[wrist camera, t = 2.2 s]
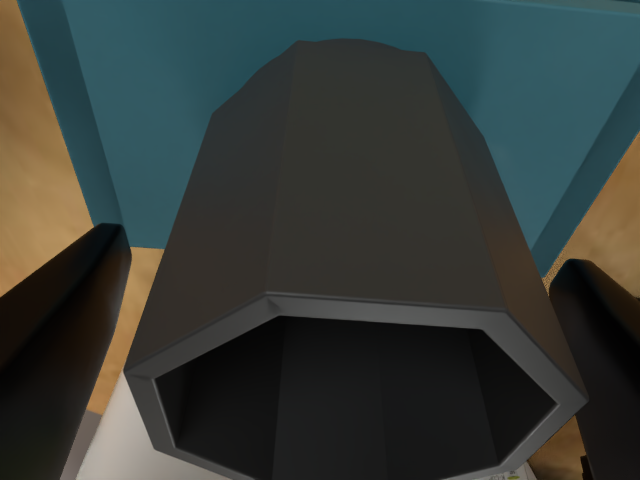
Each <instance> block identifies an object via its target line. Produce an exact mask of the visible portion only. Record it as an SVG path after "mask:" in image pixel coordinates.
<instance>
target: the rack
mask: <svg viewBox="0 0 640 480" xmlns="http://www.w3.org/2000/svg"><path fill="white" fill-rule="evenodd" d="M17 3H18V6H19V9H20V11H21V14H22V17H23V20H24V23H25V26H26V29H27V32H28V35H29V38H30V41H31V44H32V47H33V50H34V53H35V55H36V58H37V61H38V64H39V67H40V70H41V73H42V76H43V79H44V82H45V85H46V88H47V91H48V94H49V97H50V99H51V102H52V105H53V108H54V111H55V114H56V117H57V120H58V123H59V126H60V129H61V132H62V135H63V138H64V140H65V143H66V146H67V149H68V152H69V155H70V158H71V161H72V164H73V167H74V170H75V173H76V176H77V179H78V182H79V184H80V187H81V190H82V193H83V196H84V199H85V202H86V205H87V208H88V211H89V214H90V217H91V220H92V223H93V226H94V227H95V226H96V225H98V224H100V223H117V224H121V225H123V227H124V229H125V231H126V235H127V238H128V242H129V246H130V247H143V248H156V249H165V247H166V245H167V242H168V239H169V236H170V233H171V230H172V227H173V224H174V222H175V219H176V216H177V213H178V210H179V207H180V204H181V201H182V198H183V196H184V193H185V190H186V187H187V184H188V181H189V178H190V175H191V173H192V170H193V167H194V164H195V161H196V158H197V155H198V152H199V150H200V147H201V144H202V141H203V138H204V135H205V132H206V129H207V127H208V124H209V121H210V118H211V115H212V113H213V112H214V111H215V110H216V109H218V108H219V107H220V106H221V105H222V104H223V103H225V102H226V101H227V100H228V99H229V98H230V97H232V96H233V95H234V94H235V93H236V92H237V91H239V90H240V89H241V88H242V87H243V86H244V84H245V83H246V82H247V81H248V80H249V79H250V78H251V77H252V76H253V75H254V74H255V73H256V72H257V71H258V70H259V69H260V68H261V67H263V66H264V65H265V64H267V63H268V62H269V61H271V60H272V59H274V58H276V57H278V56H279V55H281V54H282V53H283V52H284V51H285V50H286V49H288V48H289V47H290V46H291V45H292V44H293V43H295V42H296V41H298V40H303V41H313V42H318V41H322V40H331V39H341V38H344V39H363V40H369V41H375V42H380V43H383V44H386V45H390V46H393V47H396V48H398V49H400V50H406V51H416V52H425V53H426V54H427V55H428V56H429V58H430V59H431V61H432V62H433V64H434V65H435V66H436V68H437V69H438V71H439V72H440V74H441V75H442V77H443V78H444V80H445V81H446V82H447V84H448V85H449V87H450V88H451V90H452V91H453V93H454V94H455V96H456V97H457V98H458V100H459V101H460V103H461V104H462V106H463V107H464V109H465V110H466V112H467V113H468V114H469V116H470V117H471V119H472V120H473V122H474V123H475V125H476V126H477V128H478V129H479V130H480V132H481V133H482V135H483V136H484V138H485V141H486V143H487V146H488V148H489V151H490V153H491V155H492V158H493V160H494V163H495V165H496V168H497V170H498V173H499V175H500V178H501V180H502V183H503V185H504V188H505V190H506V193H507V195H508V198H509V200H510V202H511V205H512V207H513V210H514V212H515V215H516V217H517V220H518V222H519V225H520V227H521V230H522V232H523V235H524V237H525V240H526V242H527V245H528V247H529V249H530V252H531V254H532V257H533V259H534V262H535V264H536V267H537V269H538V272H539V274H540V277H542V278H543V277H545V276H546V274H547V273H548V271H549V270H550V268H551V267H552V265H553V263H554V262H555V260H556V259H557V257H558V256H559V254H560V253H561V251H562V250H563V248H564V246H565V245H566V243H567V242H568V240H569V239H570V237H571V236H572V234H573V233H574V231H575V230H576V228H577V226H578V225H579V223H580V222H581V220H582V219H583V217H584V216H585V214H586V213H587V211H588V209H589V208H590V206H591V205H592V203H593V202H594V200H595V199H596V197H597V196H598V194H599V193H600V191H601V189H602V188H603V186H604V185H605V183H606V182H607V180H608V179H609V177H610V176H611V174H612V172H613V171H614V169H615V168H616V166H617V165H618V163H619V162H620V160H621V159H622V157H623V156H624V154H625V152H626V151H627V149H628V148H629V146H630V145H631V143H632V142H633V140H634V139H635V137H636V135H637V134H638V132H639V131H640V0H17Z"/></svg>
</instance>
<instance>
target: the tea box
mask: <svg viewBox="0 0 640 480" xmlns="http://www.w3.org/2000/svg"><path fill="white" fill-rule="evenodd" d="M474 480H537V479H536V477H535V475H534V473H533V471H532V470H531V468H530V466H529V464H528V463H527V461H526V462H525V463H524V464H523V465H522V466H521V467H519V468H518V469H517V470H514V471H509V472H505V473H501V474H496V475H492V476H488V477H483V478H479V479H474Z"/></svg>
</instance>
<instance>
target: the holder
mask: <svg viewBox="0 0 640 480" xmlns="http://www.w3.org/2000/svg"><path fill="white" fill-rule="evenodd" d="M123 373H124V376H125V378H126V381H127V383H128V386H129V388H130V391H131V393H132V396H133V398H134V401H135V403H136V406H137V408H138V411H139V413H140V416H141V418H142V421H143V423H144V426H145V428H146V431H147V433H148V436H149V438H150V441H151V443H152V446H153V448H154V449H155V450H156V451H159V452H161V453H164V454H167V455H169V456H172V457H174V458H177V459H180V460H182V461H185V462H187V463H190V464H193V465H195V466H198V467H200V468H203V469H206V470H208V471H211V472H214V473H216V474H219V475H221V476H224V477H227V478H229V479H232V480H474V479H479V478H483V477H488V476H492V475H496V474H501V473H505V472H509V471H514V470H517V469H518V468H519V467H521V466H522V465H523V464H524V463H525V462H526V461H527V460H528V459H529V458H530V457H531V456H532V455H533V454H534V453H535V452H536V451H537V450H538V449H539V448H540V447H541V446H542V445H544V444H545V443H546V442H547V441H548V440H549V439H550V438H551V437H552V436H553V435H554V434H555V433H556V432H557V431H558V430H559V429H560V428H561V427H562V426H563V425H564V424H565V423H567V422H568V421H569V420H570V419H571V418H572V417H573V416H574V415H575V414H576V413H577V412H578V411H579V410H580V409H581V408H582V407H583V406H584V405H585V404H586V403H587V402H588V401H589V395H588V393H587V390H586V388H585V386H584V383H583V381H582V378H581V376H580V373H579V371H578V368H577V366H576V363H575V361H574V358H573V356H572V353H571V351H570V348H569V346H568V343H567V341H566V339H565V336H564V334H563V331H562V329H561V326H560V324H559V321H558V319H557V316H556V314H555V311H554V309H553V306H552V304H551V301H550V299H549V296H548V294H547V292H546V289H545V287H544V284H543V282H542V279H541V277H540V274H539V272H538V269H537V267H536V264H535V262H534V259H533V257H532V254H531V252H530V249H529V247H528V245H527V242H526V240H525V237H524V235H523V232H522V230H521V227H520V225H519V222H518V220H517V217H516V215H515V212H514V210H513V207H512V205H511V202H510V200H509V198H508V195H507V193H506V190H505V188H504V185H503V183H502V180H501V178H500V175H499V173H498V170H497V168H496V165H495V163H494V160H493V158H492V155H491V153H490V151H489V148H488V146H487V143H486V141H485V138H484V136H483V135H482V133H481V132H480V130H479V129H478V128H477V126H476V125H475V123H474V122H473V120H472V119H471V117H470V116H469V114H468V113H467V112H466V110H465V109H464V107H463V106H462V104H461V103H460V101H459V100H458V98H457V97H456V96H455V94H454V93H453V91H452V90H451V88H450V87H449V85H448V84H447V82H446V81H445V80H444V78H443V77H442V75H441V74H440V72H439V71H438V69H437V68H436V66H435V65H434V64H433V62H432V61H431V59H430V58H429V56H428V55H427V54H426V53H425V52H416V51H406V50H400V49H398V48H396V47H393V46H390V45H386V44H383V43H380V42H375V41H369V40H363V39H344V38H341V39H331V40H322V41H318V42H313V41H303V40H298V41H296V42H295V43H293V44H292V45H291V46H290V47H289V48H288V49H286V50H285V51H284V52H283V53H282V54H281V55H279V56H278V57H276V58H274V59H272V60H271V61H269V62H268V63H267V64H265V65H264V66H263V67H261V68H260V69H259V70H258V71H257V72H256V73H255V74H254V75H253V76H252V77H251V78H250V79H249V80H248V81H247V82H246V83H245V84H244V86H243V87H242V88H241V89H240V90H239V91H237V92H236V93H235V94H234V95H233V96H232V97H230V98H229V99H228V100H227V101H226V102H225V103H223V104H222V105H221V106H220V107H219V108H218V109H216V110H215V111H214V112H213V113H212V115H211V118H210V121H209V124H208V127H207V129H206V132H205V135H204V138H203V141H202V144H201V147H200V150H199V152H198V155H197V158H196V161H195V164H194V167H193V170H192V173H191V175H190V178H189V181H188V184H187V187H186V190H185V193H184V196H183V198H182V201H181V204H180V207H179V210H178V213H177V216H176V219H175V222H174V224H173V227H172V230H171V233H170V236H169V239H168V242H167V245H166V247H165V250H164V253H163V256H162V259H161V262H160V265H159V268H158V270H157V273H156V276H155V279H154V282H153V285H152V288H151V291H150V293H149V296H148V299H147V302H146V305H145V308H144V311H143V314H142V316H141V319H140V322H139V325H138V328H137V331H136V334H135V337H134V339H133V342H132V345H131V348H130V351H129V354H128V357H127V360H126V362H125V365H124V368H123Z"/></svg>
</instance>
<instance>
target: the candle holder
mask: <svg viewBox="0 0 640 480" xmlns="http://www.w3.org/2000/svg"><path fill="white" fill-rule="evenodd" d="M127 357H128V356H127ZM126 360H127V358H126ZM125 362H126V361H125ZM124 365H125V363H124ZM123 368H124V366H123ZM123 368H122V370H121V373H120V375H119V377H118V380H117V382H116V385H115V387H114V389H113V392H112V394H111V396H110V399H109V401H108V404H107V406H106V408H105V411H104V413H103V415H102V418H101V421H100V423H99V425H98V427H97V430H96V432H95V434H94V437H93V439H92V442H91V444H90V446H89V449H88V451H87V453H86V456H85V458H84V461H83V463H82V465H81V468H80V470H79V472H78V475H77V477H76V480H232V479H229V478H227V477H224V476H221V475H219V474H216V473H214V472H211V471H208V470H206V469H203V468H200V467H198V466H195V465H193V464H190V463H187V462H185V461H182V460H180V459H177V458H174V457H172V456H169V455H167V454H164V453H161V452H159V451H156V450H155V449H154V448H153V446H152V443H151V441H150V438H149V436H148V433H147V431H146V428H145V426H144V423H143V421H142V418H141V416H140V413H139V411H138V408H137V406H136V403H135V401H134V398H133V396H132V393H131V391H130V388H129V386H128V383H127V381H126V378H125V376H124V373H123Z"/></svg>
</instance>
